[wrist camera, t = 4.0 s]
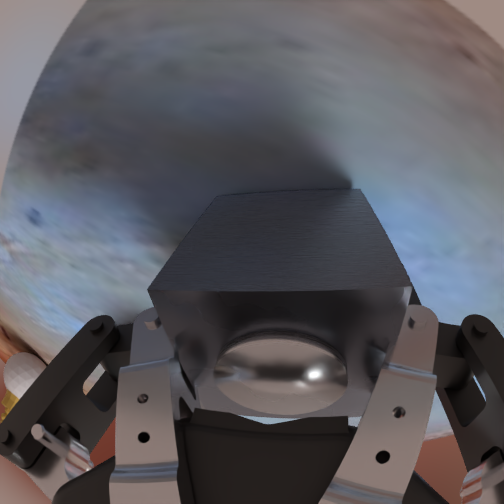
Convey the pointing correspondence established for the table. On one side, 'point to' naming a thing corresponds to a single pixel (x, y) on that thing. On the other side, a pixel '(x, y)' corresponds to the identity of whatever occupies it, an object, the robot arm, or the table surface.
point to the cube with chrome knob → (284, 303)
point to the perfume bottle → (19, 377)
